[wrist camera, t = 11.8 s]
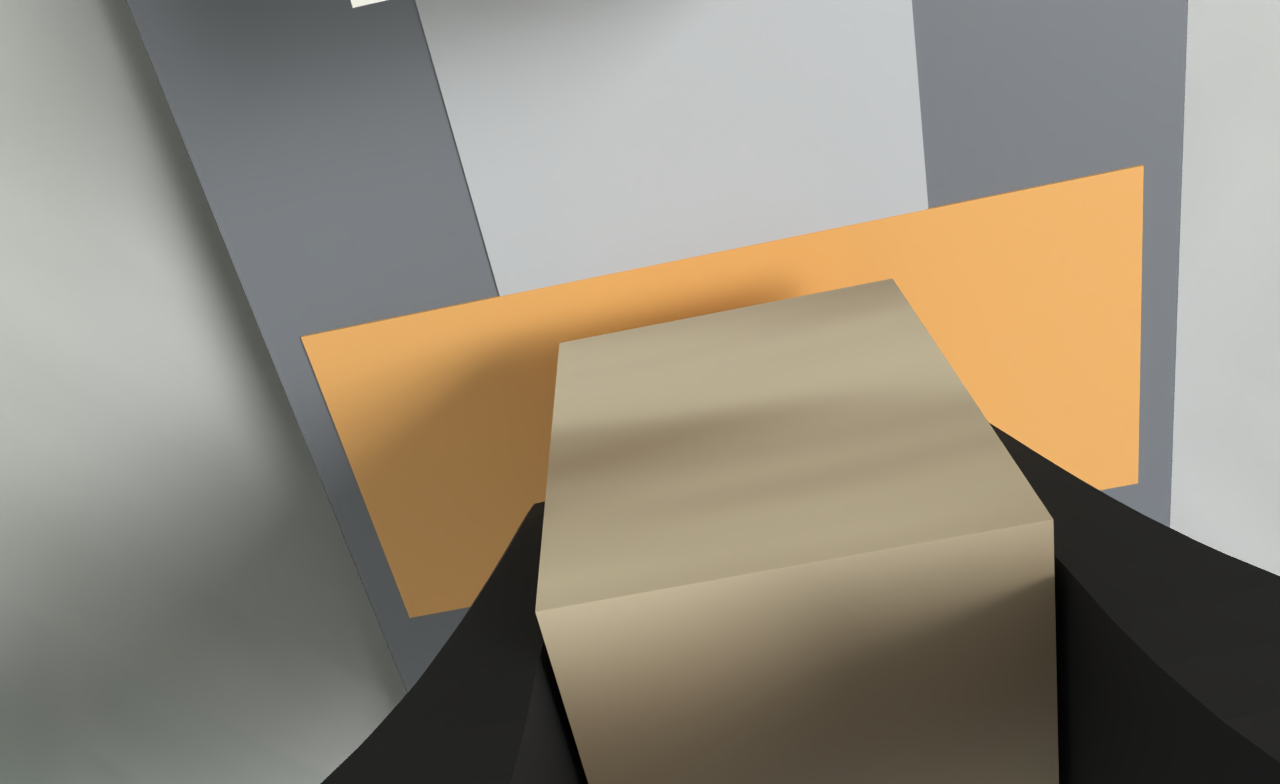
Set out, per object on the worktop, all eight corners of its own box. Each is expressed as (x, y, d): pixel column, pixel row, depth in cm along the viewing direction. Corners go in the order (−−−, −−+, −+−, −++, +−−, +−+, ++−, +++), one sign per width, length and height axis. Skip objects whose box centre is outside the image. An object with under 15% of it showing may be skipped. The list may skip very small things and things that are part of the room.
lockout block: (917, 551, 14) (1061, 872, 10) (626, 603, 14) (636, 938, 10) (892, 278, 12) (1053, 518, 8) (559, 343, 13) (535, 611, 8)
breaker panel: (1137, 620, 18) (1166, 662, 17) (452, 741, 19) (444, 788, 18) (1163, -734, 10) (1217, -791, 9) (-7, -434, 11) (-63, -460, 10)
